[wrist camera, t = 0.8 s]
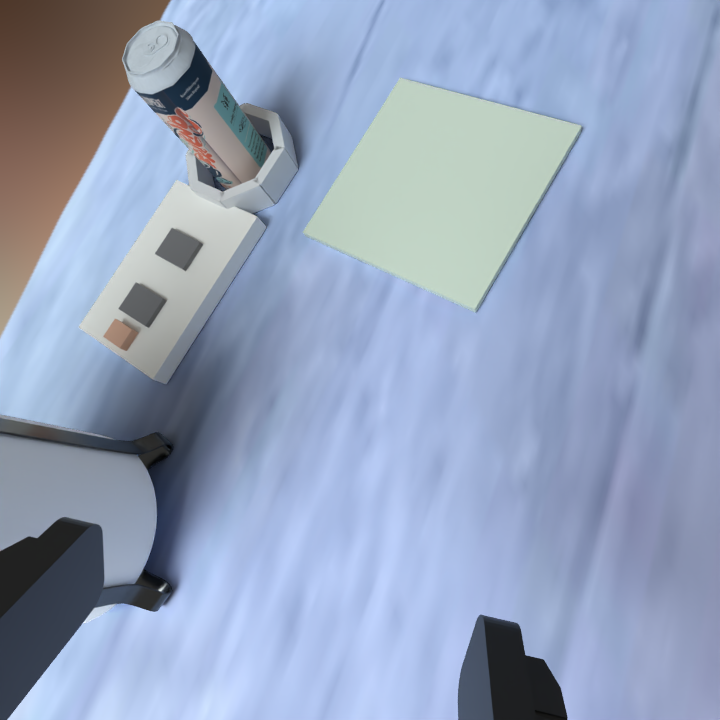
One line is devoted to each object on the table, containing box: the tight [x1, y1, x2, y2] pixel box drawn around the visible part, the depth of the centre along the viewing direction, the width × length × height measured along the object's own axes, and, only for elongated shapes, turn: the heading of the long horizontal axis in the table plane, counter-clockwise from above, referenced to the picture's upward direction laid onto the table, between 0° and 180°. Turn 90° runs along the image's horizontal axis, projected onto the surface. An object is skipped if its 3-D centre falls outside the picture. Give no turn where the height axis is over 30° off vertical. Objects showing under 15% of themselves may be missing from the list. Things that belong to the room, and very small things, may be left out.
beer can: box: [122, 21, 272, 190], centre depth 36 cm, size 5×5×12 cm
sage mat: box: [303, 78, 582, 313], centre depth 36 cm, size 14×14×1 cm
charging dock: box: [79, 103, 298, 384], centre depth 40 cm, size 22×9×2 cm, turn 147°
